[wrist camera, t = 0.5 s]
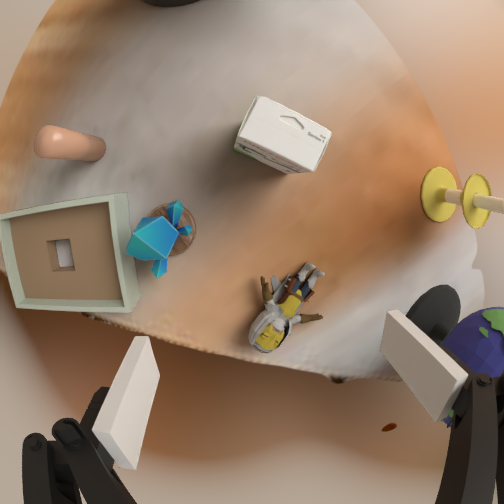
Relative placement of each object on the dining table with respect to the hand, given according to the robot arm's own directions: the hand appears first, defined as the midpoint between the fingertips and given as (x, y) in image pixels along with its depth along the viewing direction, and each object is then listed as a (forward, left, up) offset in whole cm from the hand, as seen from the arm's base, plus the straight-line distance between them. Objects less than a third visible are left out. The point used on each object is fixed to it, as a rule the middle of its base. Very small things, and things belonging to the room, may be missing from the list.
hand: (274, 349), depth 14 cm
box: (0, -28, -26) cm, 38 cm away
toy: (+10, +5, -26) cm, 29 cm away
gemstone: (-2, -10, -26) cm, 28 cm away
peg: (-15, -21, -26) cm, 37 cm away
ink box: (-13, +4, -26) cm, 29 cm away
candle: (-7, +35, -26) cm, 44 cm away
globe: (+19, +38, -26) cm, 50 cm away
